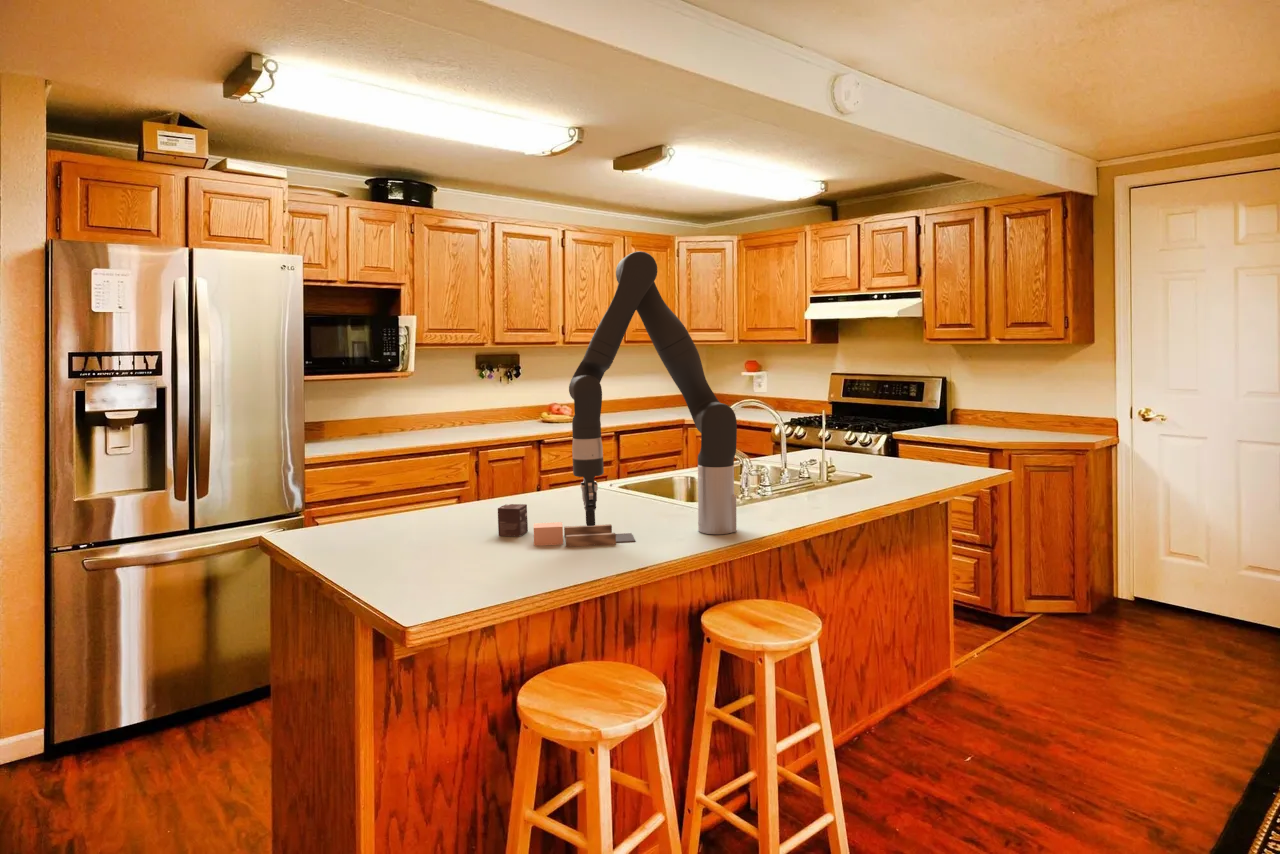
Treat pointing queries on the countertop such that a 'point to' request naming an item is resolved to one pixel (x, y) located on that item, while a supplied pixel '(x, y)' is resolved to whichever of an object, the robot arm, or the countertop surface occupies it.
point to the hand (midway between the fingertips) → (590, 525)
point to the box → (512, 520)
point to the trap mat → (624, 538)
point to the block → (548, 533)
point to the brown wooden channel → (589, 535)
